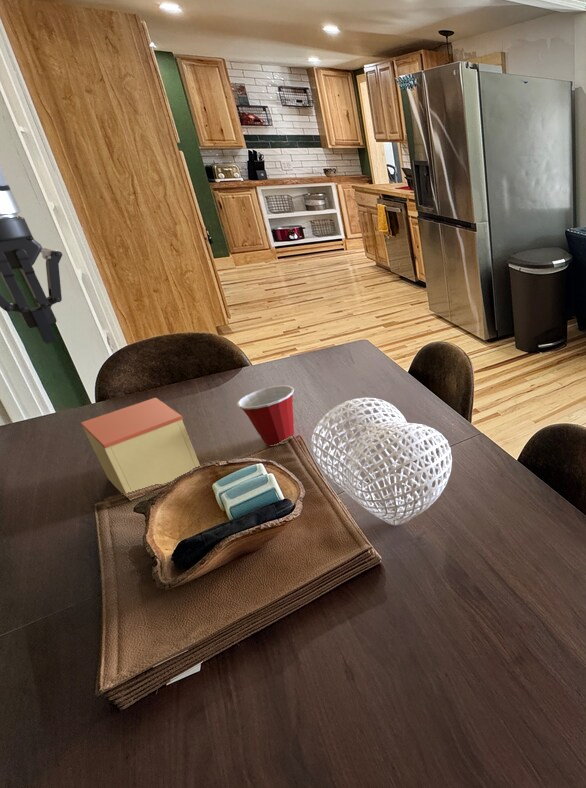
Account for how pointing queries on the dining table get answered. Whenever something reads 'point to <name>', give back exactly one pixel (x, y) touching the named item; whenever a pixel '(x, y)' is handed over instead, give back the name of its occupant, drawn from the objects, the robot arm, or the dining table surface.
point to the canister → (147, 458)
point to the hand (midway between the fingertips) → (50, 340)
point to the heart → (382, 459)
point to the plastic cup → (270, 412)
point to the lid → (130, 422)
